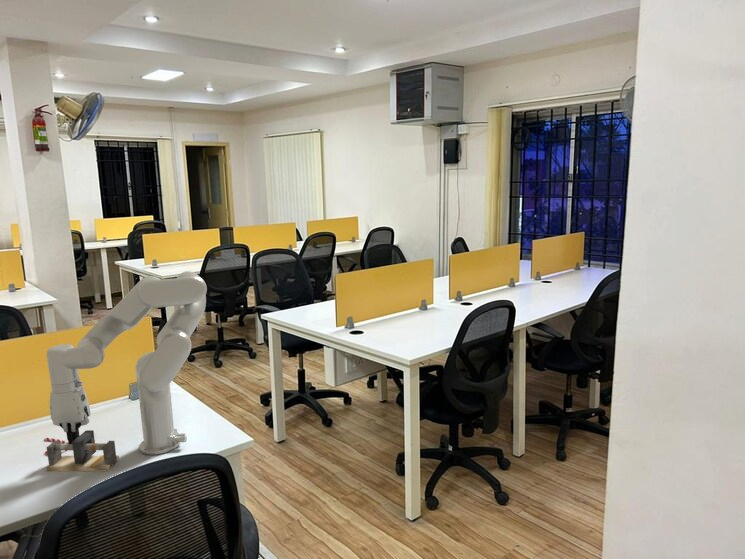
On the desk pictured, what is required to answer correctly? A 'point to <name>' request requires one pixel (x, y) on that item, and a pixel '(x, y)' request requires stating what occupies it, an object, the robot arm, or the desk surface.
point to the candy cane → (56, 440)
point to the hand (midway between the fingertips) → (74, 442)
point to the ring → (78, 447)
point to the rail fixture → (91, 464)
